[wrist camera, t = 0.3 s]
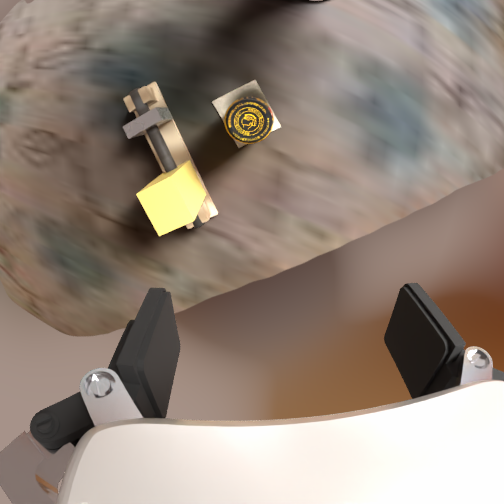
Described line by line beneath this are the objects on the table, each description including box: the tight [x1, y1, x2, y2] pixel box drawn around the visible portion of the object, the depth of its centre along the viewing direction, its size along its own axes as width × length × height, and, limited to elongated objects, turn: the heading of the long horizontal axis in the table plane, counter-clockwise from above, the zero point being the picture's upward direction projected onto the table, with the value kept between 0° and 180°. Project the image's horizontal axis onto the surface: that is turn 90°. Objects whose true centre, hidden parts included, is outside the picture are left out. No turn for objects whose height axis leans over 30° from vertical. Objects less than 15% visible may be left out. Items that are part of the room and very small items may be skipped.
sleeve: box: [136, 160, 206, 236], centre depth 38 cm, size 6×5×11 cm
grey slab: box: [123, 107, 173, 139], centre depth 36 cm, size 2×5×6 cm, turn 112°
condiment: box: [212, 80, 281, 148], centre depth 34 cm, size 7×8×12 cm
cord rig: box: [124, 82, 218, 229], centre depth 40 cm, size 24×5×5 cm, turn 22°
